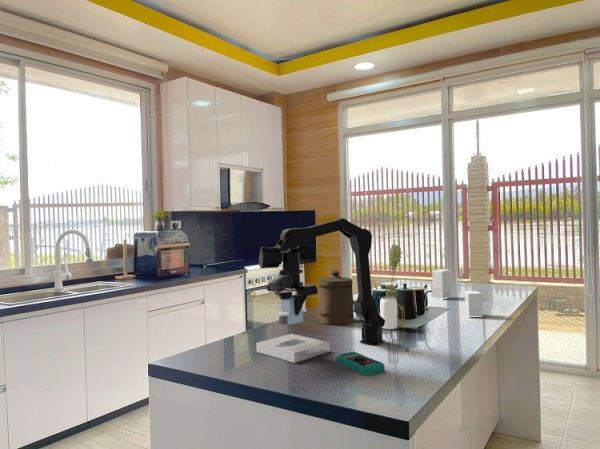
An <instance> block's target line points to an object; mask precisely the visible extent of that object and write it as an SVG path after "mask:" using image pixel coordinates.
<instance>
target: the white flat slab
mask: <svg viewBox="0 0 600 449" xmlns="http://www.w3.org/2000/svg"><path fill="white" fill-rule="evenodd" d="M330 345H331V344H330V342H329V341H325V340H321V339H316V338H311V337H307V336H304V335H300V334H294V333H289V334H286V335H285V334H284V335H281V336H278V337H273V338H270V339H265V340H262V341H258V342H256V344H255V346H256V353H258V354H263V355H265V356H270V357H273V358H276V359H279V360H282V361H287V362H290V363H292V364H293V363H294V364H296V363H298V362H302V361H305V360H308V359H311V358H314V357H316V356H317V357H318V356H320V355H323V354H327V353H329V352H330V348H331V347H330Z"/></svg>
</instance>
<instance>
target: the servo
mask: <svg viewBox="0 0 600 449" xmlns="http://www.w3.org/2000/svg"><path fill="white" fill-rule="evenodd" d="M303 306H304V304H303V305H302V308H301V310H300V312H299V315H297V316H296V315H295V309H294V299H293V298H288V299H283V300H281V299H280V311H277V312H276V315H278V316H279V315H280V316H279V318H278V319H279V320H278V323H279V325H280V326H283V325H294V324H298V323H301V322H302V323H303V322H304V313H305V312H307V309H305V308H303Z"/></svg>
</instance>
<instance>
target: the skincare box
mask: <svg viewBox="0 0 600 449" xmlns="http://www.w3.org/2000/svg"><path fill="white" fill-rule="evenodd" d="M451 280H452V279H451V269H444V268H440V269H439V268H438V269H435V270H434V269H433V270H432V298H433V297H436V298H446V297H450V296H451V297H452V290H451V288H452V286H451V285H452V284H451Z"/></svg>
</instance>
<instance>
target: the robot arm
mask: <svg viewBox="0 0 600 449" xmlns="http://www.w3.org/2000/svg"><path fill="white" fill-rule="evenodd" d="M334 232H340V233H341V234H342V235H343V236H344V237H347V239H349V243H350V244H349V245H350V247H351V249H352V251H353V254H354V257H355V258H354V259H355V269H356V271H355V272H356V282H357V292H358V294H357V298H356V300H354V299H353V309H354V310H353V313H354V314H355V316H356V317H357V319H359V322H360V323H362V326H361V340H359V343H361V344H362V343H363V344H366V345H372V346H377V345H379V344H383V343H385V342H386V340H385V339H383V328H382V327H383V326H384V323H385V320H384V319H383V318H382V317H381V316H380V314H379V309H378V305H377V302H376V301H375V299H374V296H373V290H372V280H371V270H370V268H371V267H370V256H369V255H370V251H371V248H372V245H373V244H372V242H373V240H372V239H373V236H372V232H371V231H370V230H369V229H367V228H362V227H360V226H358V225H356V224H355V223H352V222H350V221H349V220H347V219H346V218H343V217H342V218H336V219H334V220H329V221H326V222H323V223H318V224H314V225H312V226H307V227H297V228H286V229H283V230H282V231H281V233H280V236H279V240H278V241H277V243H276V244H275V246H274V247H263V246H262V247H260V252H259V256H258V264H259V268H260V269H275V268H276V269H277V268H279V267H280V266H281V265H282V266H281V267H282V269H280V270H279V274H278V275H277V276H275V277H274V278H272V279H270V280H269V281H268V282H267V285H266V291H267V292H274V295H276V296H277V297H279V299H280V301H281V300H283V299H288V298H293V299H294V309H295V315H296V316H297V315H299V312H300V310H301V308H302V305H303V306H304V303H305V301H306V299H307V298H308V297H309V296H313V295H319V287H318V286H317V285H315V284H304V283H303V282H302V281H301V274H303V272H304V271H303V269H301V267H300V266H301V265H300V264H301V262H300V261H301V260H300V259H301V258H300V254H305V253H306V252H307V251H306V250H305V249H304V248H303V247H302V246H301V244H303V243H305V242H307V241H309V240H310V239H312V238H316V237H320V236H325V235H328V234H332V233H334ZM293 292H294V294H293Z"/></svg>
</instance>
